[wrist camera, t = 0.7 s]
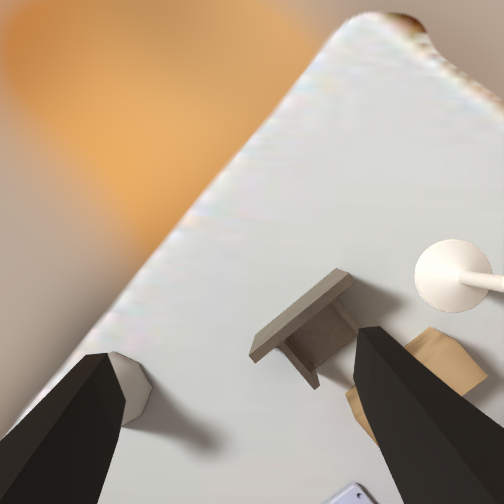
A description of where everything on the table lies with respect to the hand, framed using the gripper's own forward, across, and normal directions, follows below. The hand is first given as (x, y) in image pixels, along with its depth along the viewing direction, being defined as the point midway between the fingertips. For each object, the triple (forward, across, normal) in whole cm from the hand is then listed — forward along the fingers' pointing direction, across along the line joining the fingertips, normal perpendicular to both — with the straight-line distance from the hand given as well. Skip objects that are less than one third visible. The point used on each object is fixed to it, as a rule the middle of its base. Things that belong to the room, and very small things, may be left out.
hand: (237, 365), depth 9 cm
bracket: (+16, -7, +14) cm, 22 cm away
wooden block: (+13, -14, +18) cm, 26 cm away
